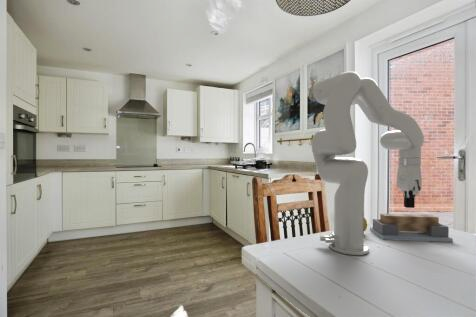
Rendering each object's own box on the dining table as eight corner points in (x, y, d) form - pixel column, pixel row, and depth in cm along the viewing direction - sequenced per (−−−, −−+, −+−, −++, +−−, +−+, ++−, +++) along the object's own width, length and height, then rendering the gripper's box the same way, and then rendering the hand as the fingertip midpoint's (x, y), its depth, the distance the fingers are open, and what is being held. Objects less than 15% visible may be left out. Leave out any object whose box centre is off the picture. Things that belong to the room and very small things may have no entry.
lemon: (367, 233, 105) (367, 214, 105) (366, 236, 101) (366, 216, 100) (353, 230, 108) (353, 212, 108) (351, 234, 104) (351, 215, 103)
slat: (384, 230, 101) (384, 215, 101) (380, 227, 105) (380, 213, 105) (438, 232, 99) (438, 217, 99) (431, 229, 103) (431, 215, 103)
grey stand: (382, 239, 98) (382, 225, 98) (369, 229, 110) (370, 218, 110) (452, 241, 95) (452, 228, 95) (431, 232, 107) (432, 219, 107)
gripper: (390, 161, 110) (390, 203, 110) (410, 162, 95) (409, 211, 95) (408, 161, 109) (408, 203, 109) (431, 162, 94) (431, 211, 94)
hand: (409, 207), depth 102 cm, fingers closed
